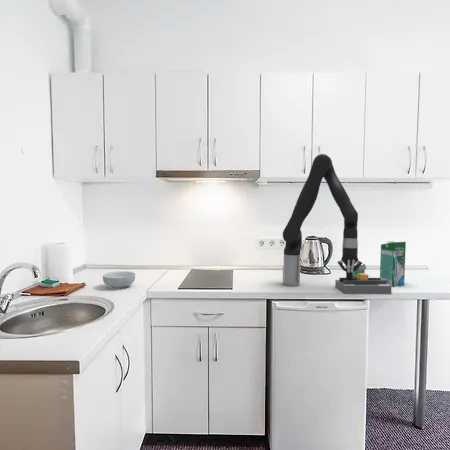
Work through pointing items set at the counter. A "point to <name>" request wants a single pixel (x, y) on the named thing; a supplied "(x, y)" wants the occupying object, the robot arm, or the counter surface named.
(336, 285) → the switch plate
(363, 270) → the food container
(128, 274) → the cereal bowl
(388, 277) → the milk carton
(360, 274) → the switch knob
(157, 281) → the counter surface
